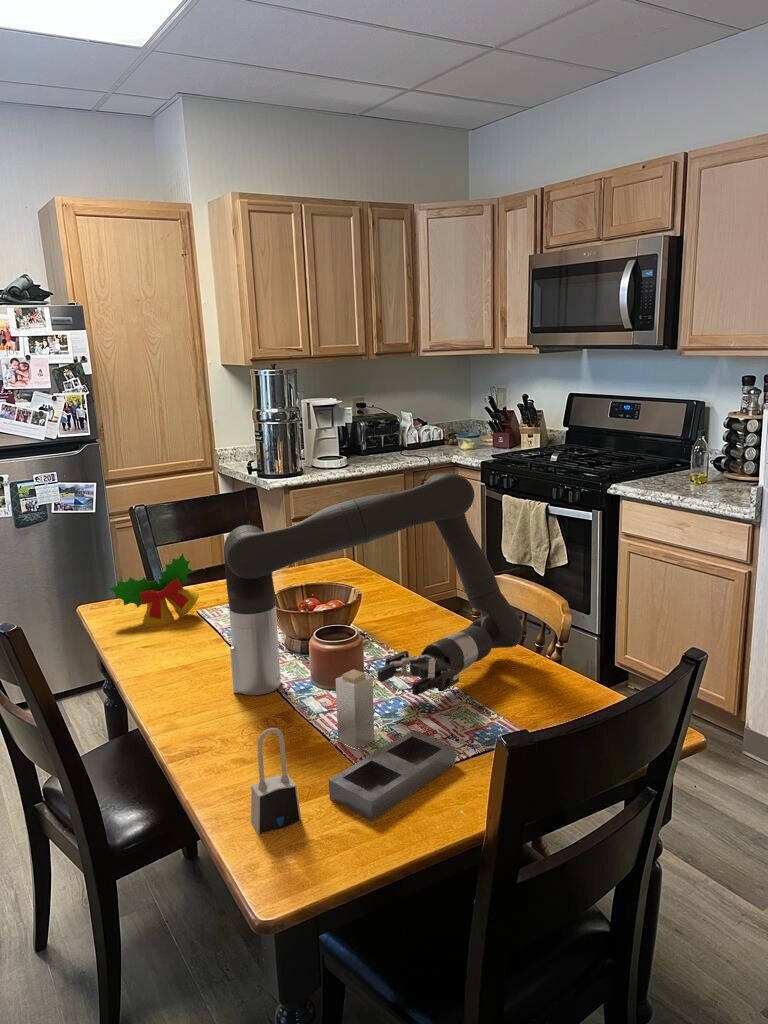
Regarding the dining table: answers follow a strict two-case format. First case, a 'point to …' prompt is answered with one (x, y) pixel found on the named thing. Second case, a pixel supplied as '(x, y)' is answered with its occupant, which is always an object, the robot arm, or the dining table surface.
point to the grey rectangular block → (355, 709)
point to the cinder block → (391, 774)
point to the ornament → (160, 594)
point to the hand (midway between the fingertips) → (396, 683)
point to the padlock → (273, 794)
